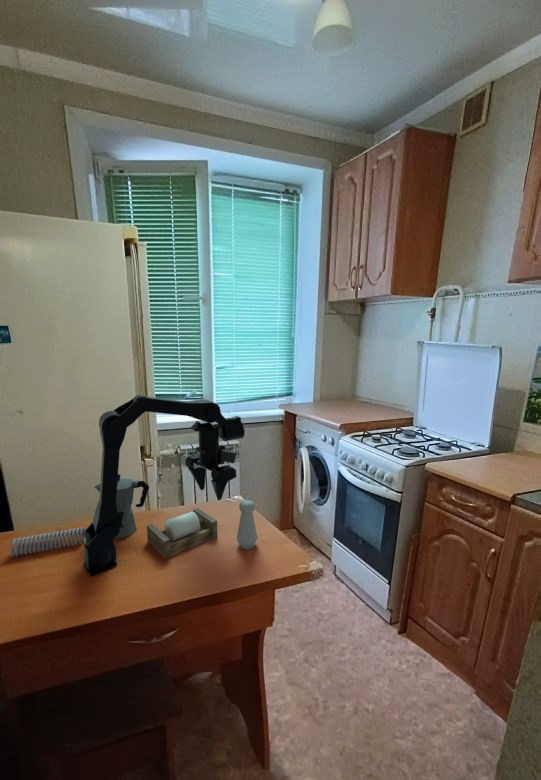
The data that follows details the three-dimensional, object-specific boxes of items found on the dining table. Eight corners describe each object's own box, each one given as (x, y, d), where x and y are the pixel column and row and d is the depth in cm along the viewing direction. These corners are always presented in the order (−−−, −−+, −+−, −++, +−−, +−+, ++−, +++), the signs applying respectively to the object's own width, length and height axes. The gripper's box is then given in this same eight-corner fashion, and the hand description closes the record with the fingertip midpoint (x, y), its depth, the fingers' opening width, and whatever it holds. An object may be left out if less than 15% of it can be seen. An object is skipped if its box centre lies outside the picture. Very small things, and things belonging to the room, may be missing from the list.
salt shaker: (232, 547, 102) (232, 503, 100) (243, 537, 107) (243, 496, 105) (250, 553, 99) (250, 508, 98) (261, 543, 104) (261, 500, 103)
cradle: (164, 559, 97) (164, 541, 96) (147, 541, 105) (146, 525, 104) (217, 536, 108) (217, 520, 107) (198, 522, 116) (197, 507, 115)
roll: (174, 545, 101) (174, 525, 100) (164, 536, 106) (164, 517, 105) (200, 535, 107) (200, 516, 106) (190, 526, 111) (189, 508, 110)
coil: (7, 546, 95) (84, 532, 102) (12, 535, 99) (85, 523, 106) (10, 561, 96) (85, 546, 103) (14, 550, 101) (87, 537, 107)
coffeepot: (92, 541, 105) (88, 481, 103) (102, 524, 114) (98, 469, 112) (148, 537, 107) (145, 479, 105) (153, 521, 117) (151, 467, 114)
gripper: (250, 444, 104) (251, 496, 106) (214, 432, 118) (216, 478, 120) (218, 453, 97) (219, 508, 99) (183, 439, 110) (185, 488, 113)
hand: (210, 494), depth 108 cm, fingers open, 9 cm apart
